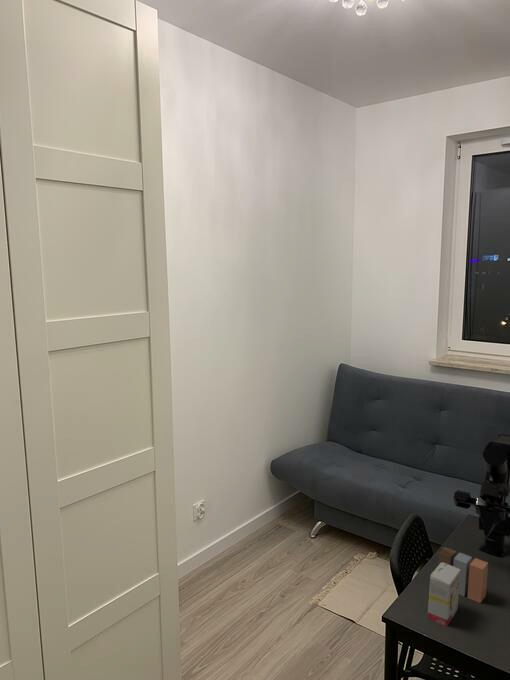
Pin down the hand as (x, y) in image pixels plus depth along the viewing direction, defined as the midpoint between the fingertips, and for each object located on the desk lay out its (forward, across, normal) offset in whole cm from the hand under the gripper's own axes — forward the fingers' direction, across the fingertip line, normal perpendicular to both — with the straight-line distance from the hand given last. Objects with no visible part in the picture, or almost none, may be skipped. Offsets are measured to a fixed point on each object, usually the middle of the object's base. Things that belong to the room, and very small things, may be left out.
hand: (486, 536), depth 137 cm
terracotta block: (+15, 0, +2) cm, 15 cm away
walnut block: (+14, -8, +3) cm, 17 cm away
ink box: (+24, -6, -5) cm, 25 cm away
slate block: (+15, -4, +3) cm, 16 cm away
